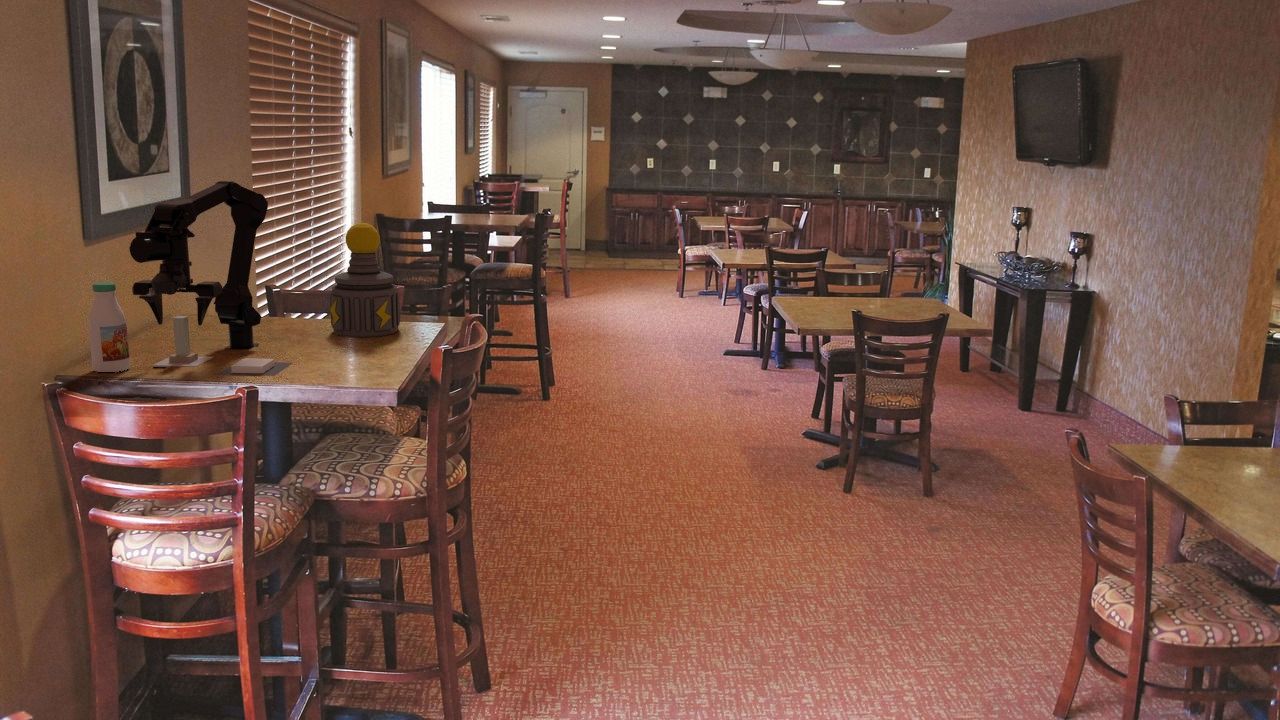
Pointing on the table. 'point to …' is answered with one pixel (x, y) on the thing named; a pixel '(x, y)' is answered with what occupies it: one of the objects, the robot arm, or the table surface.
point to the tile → (253, 366)
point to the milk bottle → (108, 331)
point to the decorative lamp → (364, 290)
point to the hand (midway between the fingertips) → (180, 324)
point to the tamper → (182, 342)
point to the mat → (271, 372)
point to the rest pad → (194, 364)
